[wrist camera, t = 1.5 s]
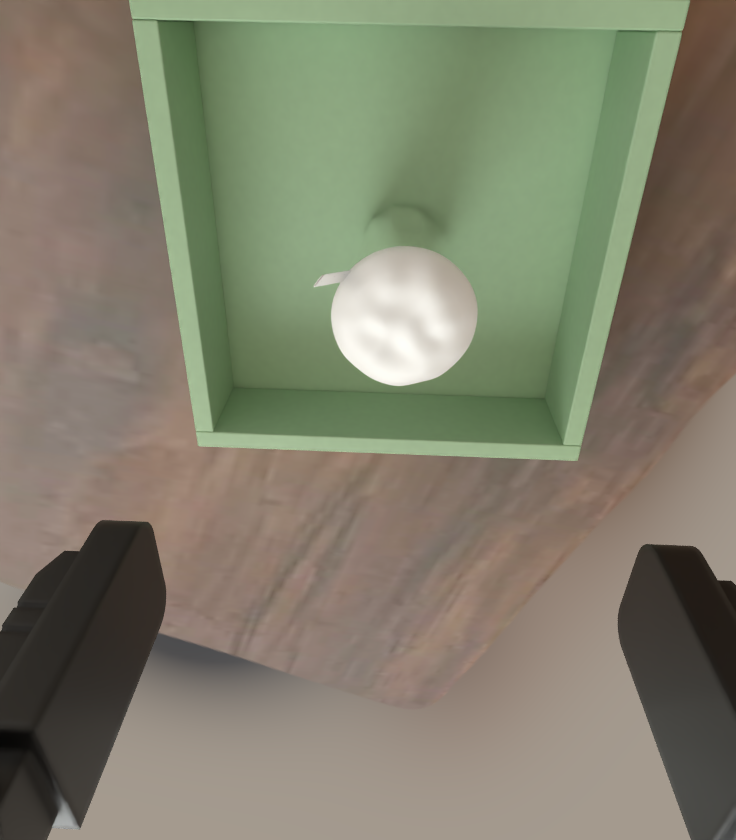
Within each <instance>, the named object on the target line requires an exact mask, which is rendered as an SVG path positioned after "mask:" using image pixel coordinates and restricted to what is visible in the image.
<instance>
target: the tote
mask: <svg viewBox="0 0 736 840" xmlns="http://www.w3.org/2000/svg"><path fill="white" fill-rule="evenodd" d="M129 3H130V9H131V16H132V18H133V19H134V20H133V21H132V23H133V29H134V36H135V42H136V48H137V55H138V61H139V68H140V74H141V81H142V87H143V94H144V100H145V106H146V113H147V119H148V126H149V132H150V139H151V145H152V152H153V158H154V165H155V171H156V177H157V184H158V190H159V197H160V203H161V210H162V216H163V223H164V229H165V235H166V242H167V248H168V255H169V261H170V268H171V274H172V281H173V287H174V294H175V300H176V306H177V313H178V319H179V326H180V332H181V339H182V345H183V352H184V358H185V364H186V371H187V377H188V384H189V390H190V397H191V403H192V410H193V416H194V423H195V429H196V435H197V442H198V446H207V447H233V448H259V449H285V450H311V451H337V452H362V453H388V454H414V455H440V456H466V457H492V458H518V459H544V460H570V461H577V460H578V457H579V453H580V449H581V444H582V440H583V436H584V432H585V428H586V424H587V420H588V416H589V412H590V408H591V404H592V400H593V396H594V392H595V387H596V383H597V379H598V375H599V371H600V367H601V363H602V359H603V355H604V351H605V347H606V343H607V338H608V334H609V330H610V326H611V322H612V318H613V314H614V310H615V306H616V302H617V298H618V294H619V290H620V285H621V281H622V277H623V273H624V269H625V265H626V261H627V257H628V253H629V249H630V245H631V241H632V236H633V232H634V228H635V224H636V220H637V216H638V212H639V208H640V204H641V200H642V196H643V192H644V188H645V183H646V179H647V175H648V171H649V167H650V163H651V159H652V155H653V151H654V147H655V143H656V139H657V134H658V130H659V126H660V122H661V118H662V114H663V110H664V106H665V102H666V98H667V94H668V90H669V86H670V81H671V77H672V73H673V69H674V65H675V61H676V57H677V53H678V49H679V45H680V41H681V37H682V32H681V31H682V30H683V29H684V25H685V21H686V16H687V12H688V8H689V4H690V0H129ZM393 205H395V206H410V207H418V208H420V209H421V210H422V211H423V212H424V213H425V214H426V215H427V216H429V217H430V218H431V219H432V220H433V221H434V222H436V223H437V225H438V227H439V229H440V231H441V233H442V235H443V237H444V239H445V241H446V243H447V245H448V247H449V249H450V251H451V253H452V255H453V257H454V259H455V261H456V262H457V264H458V266H459V267H460V269H461V270H462V272H463V274H464V275H465V276H466V278H467V279H468V281H469V282H470V284H471V286H472V288H473V290H474V293H475V296H476V300H477V308H478V316H477V324H476V329H475V333H474V336H473V339H472V341H471V343H470V345H469V347H468V349H467V350H466V352H465V353H464V354H463V356H462V357H461V358H460V359H459V360H458V361H457V362H456V363H455V364H454V365H453V366H452V367H451V368H450V369H449V370H447V371H446V372H445V373H444V374H442V375H440V376H439V377H436V378H434V379H431V380H427V381H423V382H419V383H415V384H410V385H405V386H393V385H388V384H384V383H381V382H378V381H376V380H374V379H372V378H370V377H368V376H367V375H365V374H364V373H363V372H361V371H360V370H359V369H358V368H356V367H355V366H354V365H353V364H352V363H351V362H350V361H349V360H348V359H347V358H346V357H345V356H344V355H343V353H342V352H341V350H340V348H339V346H338V344H337V342H336V340H335V337H334V333H333V329H332V323H331V308H332V302H333V298H334V295H335V293H336V290H337V288H338V286H339V284H340V283H335V284H329V285H324V286H319V287H313V286H314V284H315V283H316V282H317V280H318V279H319V278H320V277H321V275H323V274H328V273H335V272H341V271H347V270H348V268H349V266H350V264H351V262H352V261H353V259H354V257H355V255H356V253H357V252H358V250H359V247H360V245H361V243H362V241H363V238H364V236H365V233H366V231H367V229H368V226H369V224H370V222H371V219H373V218H374V217H376V216H377V215H379V214H380V213H382V212H384V211H385V210H387V209H388V208H390V207H391V206H393Z"/></svg>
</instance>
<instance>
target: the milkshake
mask: <svg viewBox="0 0 736 840" xmlns="http://www.w3.org/2000/svg"><path fill="white" fill-rule="evenodd" d="M335 283H340V284H339V286H338V288H337V290H336V293H335V295H334V298H333V302H332V308H331V323H332V329H333V333H334V337H335V340H336V342H337V344H338V346H339V348H340V350H341V352H342V353H343V355H344V356H345V357H346V358H347V359H348V360H349V361H350V362H351V363H352V364H353V365H354V366H355V367H356V368H358V369H359V370H360V371H361V372H363V373H364V374H365V375H367V376H368V377H370V378H372V379H374V380H376V381H378V382H381V383H384V384H388V385H393V386H405V385H410V384H415V383H419V382H423V381H427V380H431V379H434V378H436V377H439V376H440V375H442V374H444V373H445V372H446V371H447V370H449V369H450V368H451V367H452V366H453V365H454V364H455V363H456V362H457V361H458V360H459V359H460V358H461V357H462V356H463V354H464V353H465V352H466V350H467V349H468V347H469V345H470V343H471V341H472V339H473V336H474V333H475V329H476V324H477V316H478V308H477V300H476V296H475V293H474V290H473V288H472V286H471V284H470V282H469V281H468V279H467V278H466V276H465V275H464V274H463V272H462V270H461V269H460V267H459V266H458V264H457V262H456V261H455V259H454V257H453V255H452V253H451V251H450V249H449V247H448V245H447V243H446V241H445V239H444V237H443V235H442V233H441V231H440V229H439V227H438V225H437V223H436V222H434V221H433V220H432V219H431V218H430V217H429V216H427V215H426V214H425V213H424V212H423V211H422V210H421V209H420V208H418V207H410V206H395V205H393V206H391V207H390V208H388V209H387V210H385V211H384V212H382V213H380V214H379V215H377V216H376V217H374V218H373V219H371V222H370V224H369V226H368V229H367V231H366V233H365V236H364V238H363V241H362V243H361V245H360V247H359V250H358V252H357V253H356V255H355V257H354V259H353V261H352V262H351V264H350V266H349V268H348V270H347V271H341V272H335V273H328V274H323V275H321V277H320V278H319V279H318V280H317V282H316V283H315V284H314V286H313V287H319V286H324V285H329V284H335Z"/></svg>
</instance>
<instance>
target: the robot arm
mask: <svg viewBox="0 0 736 840" xmlns="http://www.w3.org/2000/svg"><path fill="white" fill-rule="evenodd" d="M165 605H166V586H165V581H164V577H163V572H162V568H161V563H160V559H159V554H158V549H157V545H156V540H155V536H154V532H153V528H152V526H151V525H150V523H148V522H136V521H112V520H102V521H100V522H98V523H97V524H96V526H95V527H94V528H93V530H92V532H91V533H90V535H89V537H88V538H87V540H86V542H85V543H84V545H83V546H82V548H81V550H80V551H64V552H63V553H61V554H60V555H59V556H58V557H56V558H55V559H54V560H53V561H52V562H50V563H49V564H48V565H47V566H45V567H44V568H43V569H42V570H41V571H39V572H38V573H37V574H36V575H35V577H34V578H33V580H32V581H31V583H30V584H29V586H28V587H27V589H26V590H25V592H24V593H23V595H22V596H21V598H20V599H19V601H18V606H17V608H13V610H12V611H11V613H10V614H9V616H8V617H7V619H6V620H5V622H4V623H3V625H2V630H1V632H0V840H47V838H48V836H49V833H50V831H51V829H52V828H64V829H80V828H81V825H82V823H83V820H84V818H85V815H86V813H87V810H88V808H89V805H90V803H91V800H92V798H93V795H94V793H95V790H96V787H97V785H98V783H99V780H100V777H101V775H102V772H103V770H104V767H105V765H106V762H107V760H108V757H109V755H110V752H111V750H112V747H113V745H114V742H115V740H116V737H117V735H118V732H119V730H120V727H121V724H122V722H123V720H124V717H125V714H126V712H127V709H128V707H129V704H130V702H131V699H132V697H133V694H134V692H135V689H136V687H137V684H138V682H139V679H140V676H141V674H142V672H143V669H144V666H145V664H146V661H147V659H148V657H149V654H150V651H151V649H152V646H153V644H154V641H155V639H156V636H157V634H158V631H159V629H160V626H161V623H162V620H163V617H164V612H165ZM618 633H619V639H620V644H621V647H622V650H623V653H624V656H625V658H626V661H627V664H628V667H629V669H630V672H631V675H632V678H633V681H634V683H635V686H636V689H637V691H638V694H639V697H640V700H641V703H642V705H643V708H644V711H645V713H646V716H647V719H648V722H649V724H650V728H651V730H652V733H653V736H654V739H655V741H656V744H657V747H658V750H659V752H660V755H661V758H662V761H663V763H664V766H665V769H666V772H667V774H668V777H669V780H670V783H671V786H672V788H673V791H674V794H675V797H676V799H677V802H678V805H679V808H680V810H681V813H682V816H683V819H684V822H685V824H686V827H687V830H688V832H689V835H690V838H691V840H736V585H735V584H734V583H733V582H732V581H718V580H717V579H716V577H715V575H714V573H713V572H712V570H711V568H710V567H709V565H708V563H707V561H706V560H705V558H704V557H703V555H702V553H701V552H700V551H699V550H698V549H697V548H696V547H693V546H676V545H652V544H651V545H650V544H646V545H643V546H642V547H641V549H640V550H639V552H638V555H637V558H636V561H635V564H634V567H633V569H632V572H631V575H630V578H629V581H628V584H627V587H626V590H625V593H624V596H623V599H622V602H621V605H620V608H619V613H618Z"/></svg>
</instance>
